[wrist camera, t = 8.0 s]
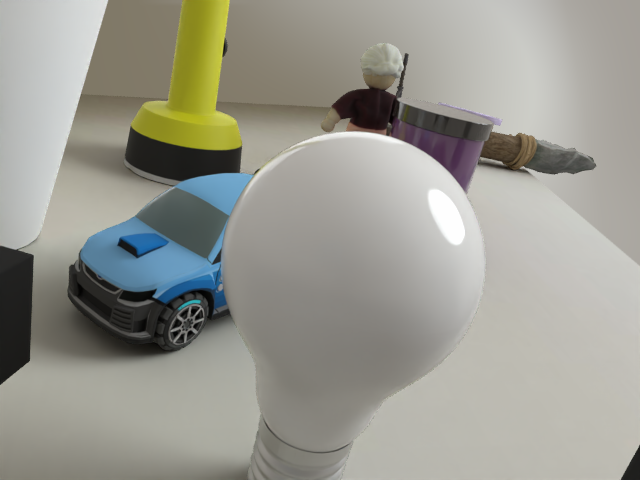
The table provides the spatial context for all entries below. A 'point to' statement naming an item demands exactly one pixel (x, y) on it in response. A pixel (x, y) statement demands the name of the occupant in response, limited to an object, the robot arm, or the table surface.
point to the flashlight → (189, 107)
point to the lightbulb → (345, 289)
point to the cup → (39, 102)
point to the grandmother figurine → (370, 93)
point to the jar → (443, 135)
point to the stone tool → (535, 154)
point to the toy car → (160, 265)
